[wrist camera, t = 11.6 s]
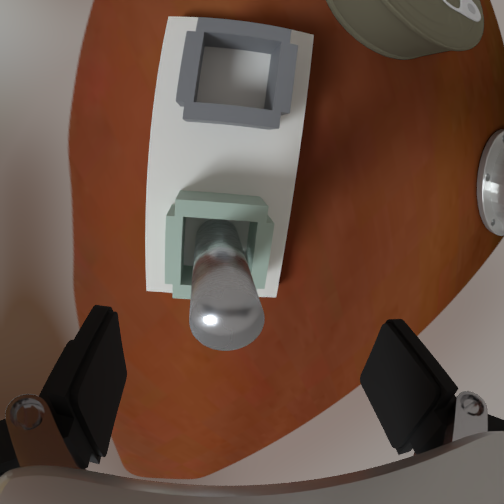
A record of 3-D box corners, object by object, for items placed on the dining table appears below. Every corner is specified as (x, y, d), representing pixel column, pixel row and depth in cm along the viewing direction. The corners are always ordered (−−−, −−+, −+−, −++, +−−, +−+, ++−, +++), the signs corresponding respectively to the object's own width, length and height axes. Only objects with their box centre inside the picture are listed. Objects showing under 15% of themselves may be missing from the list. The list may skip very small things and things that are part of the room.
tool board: (272, 288, 25) (285, 318, 21) (149, 281, 23) (139, 312, 19) (307, 40, 18) (329, 21, 14) (170, 23, 16) (162, -1, 12)
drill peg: (246, 245, 21) (276, 330, 12) (209, 266, 22) (215, 360, 12) (225, 210, 20) (241, 275, 11) (187, 232, 20) (174, 312, 11)
